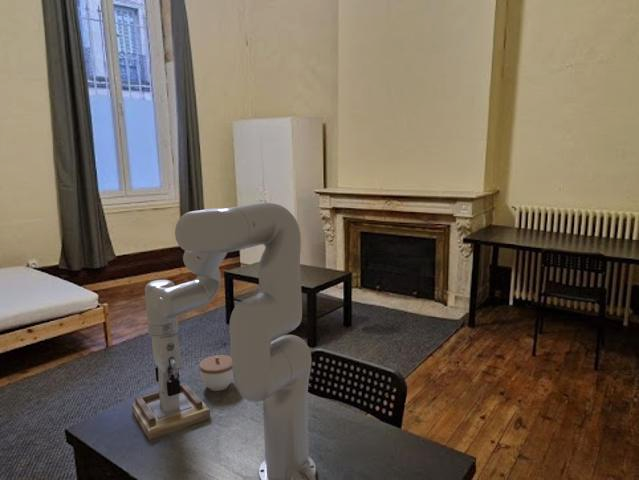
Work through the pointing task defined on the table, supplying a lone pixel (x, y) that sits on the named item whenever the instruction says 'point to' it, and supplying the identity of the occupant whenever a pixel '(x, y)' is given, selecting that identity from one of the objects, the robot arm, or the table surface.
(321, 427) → the table surface
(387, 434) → the table surface
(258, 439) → the table surface
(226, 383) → the lidded jar
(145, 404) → the frame
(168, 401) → the skincare box
